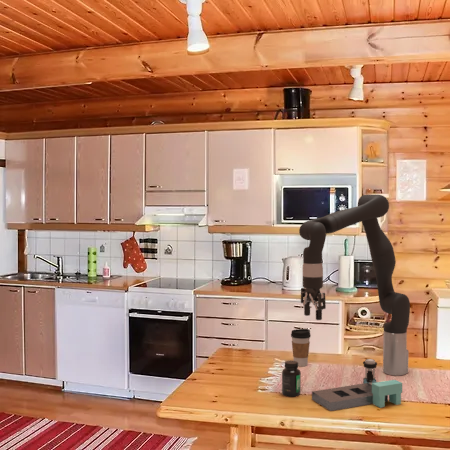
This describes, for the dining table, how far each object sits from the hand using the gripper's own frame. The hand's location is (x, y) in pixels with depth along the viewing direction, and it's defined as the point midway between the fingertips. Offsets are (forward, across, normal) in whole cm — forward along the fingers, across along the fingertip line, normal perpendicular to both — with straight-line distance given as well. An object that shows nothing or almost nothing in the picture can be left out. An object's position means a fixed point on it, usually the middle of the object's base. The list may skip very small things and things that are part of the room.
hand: (312, 317), depth 220 cm
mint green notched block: (+28, -24, -16) cm, 40 cm away
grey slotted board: (+27, -16, -6) cm, 32 cm away
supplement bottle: (+27, -2, +10) cm, 29 cm away
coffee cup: (+28, +29, -11) cm, 42 cm away
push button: (+28, -6, -23) cm, 36 cm away
